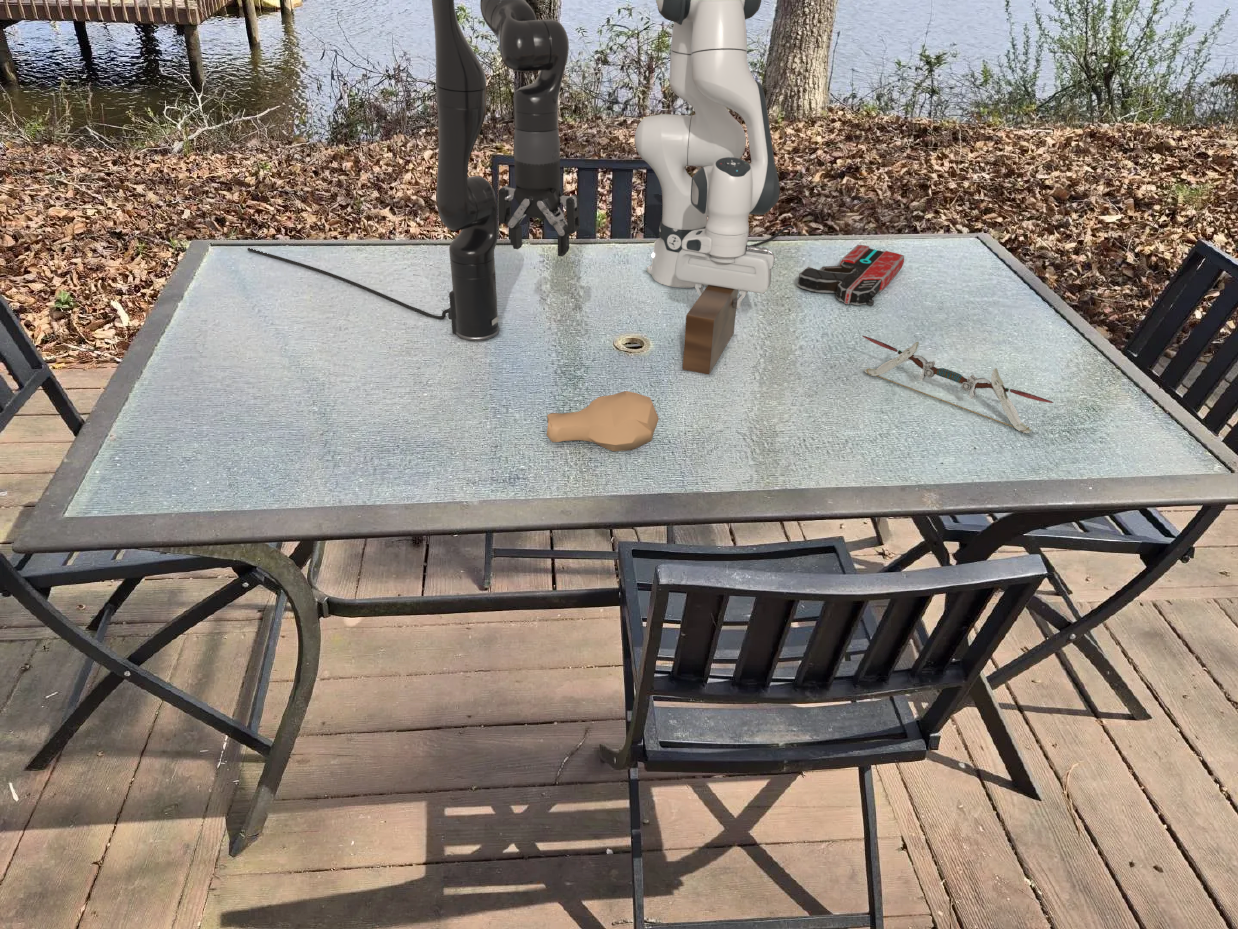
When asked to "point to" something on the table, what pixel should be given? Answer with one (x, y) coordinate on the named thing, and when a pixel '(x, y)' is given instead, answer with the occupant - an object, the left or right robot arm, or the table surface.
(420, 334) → the table surface
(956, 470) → the table surface
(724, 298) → the box
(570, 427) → the squash
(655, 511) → the table surface
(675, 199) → the right robot arm
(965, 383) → the bow
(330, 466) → the table surface
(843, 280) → the gun
